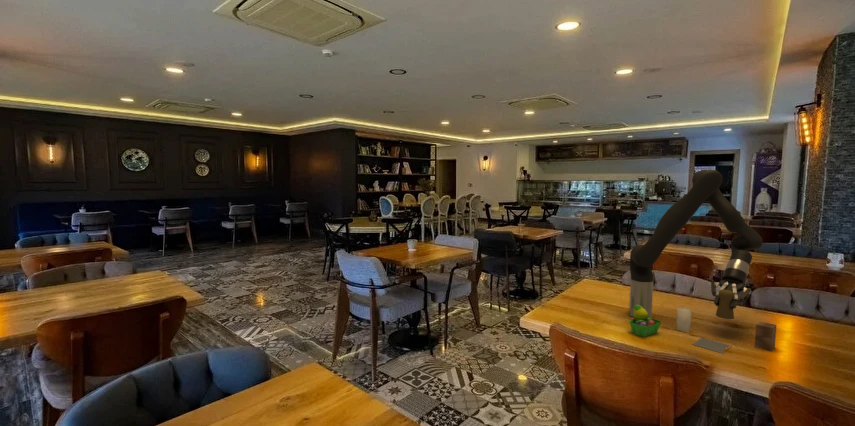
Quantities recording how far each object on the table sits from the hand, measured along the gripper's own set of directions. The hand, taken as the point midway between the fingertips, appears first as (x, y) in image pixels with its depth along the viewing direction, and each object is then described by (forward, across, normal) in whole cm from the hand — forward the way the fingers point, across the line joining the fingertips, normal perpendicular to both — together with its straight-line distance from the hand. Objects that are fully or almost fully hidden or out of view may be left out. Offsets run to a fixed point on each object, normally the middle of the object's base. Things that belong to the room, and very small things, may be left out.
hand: (724, 306), depth 159 cm
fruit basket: (+23, -22, -4) cm, 32 cm away
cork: (+2, 0, +5) cm, 5 cm away
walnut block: (+8, +13, +10) cm, 18 cm away
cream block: (+12, -13, +7) cm, 19 cm away
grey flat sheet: (+18, 0, +1) cm, 18 cm away
